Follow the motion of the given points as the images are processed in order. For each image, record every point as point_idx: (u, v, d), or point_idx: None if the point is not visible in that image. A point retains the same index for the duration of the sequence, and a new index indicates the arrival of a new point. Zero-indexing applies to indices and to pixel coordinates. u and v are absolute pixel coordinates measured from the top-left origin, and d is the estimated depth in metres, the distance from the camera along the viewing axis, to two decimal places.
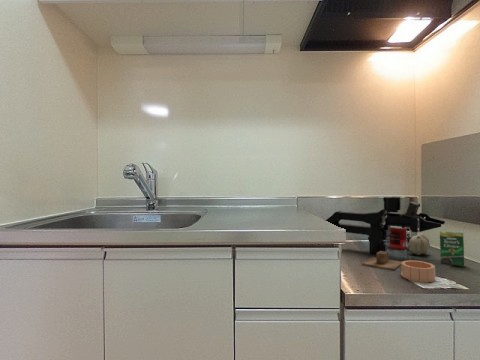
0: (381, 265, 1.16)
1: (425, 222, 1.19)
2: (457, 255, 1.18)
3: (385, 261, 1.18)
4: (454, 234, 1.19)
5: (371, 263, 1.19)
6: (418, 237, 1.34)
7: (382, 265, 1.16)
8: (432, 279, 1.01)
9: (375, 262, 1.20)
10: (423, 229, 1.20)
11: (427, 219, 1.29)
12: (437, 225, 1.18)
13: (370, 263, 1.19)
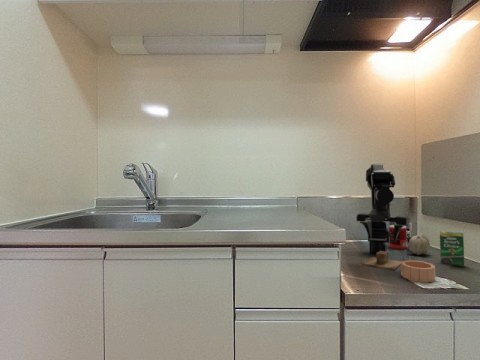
0: (381, 265, 1.16)
1: None
2: (457, 255, 1.18)
3: (385, 261, 1.18)
4: (454, 234, 1.19)
5: (371, 263, 1.19)
6: (418, 237, 1.34)
7: (382, 265, 1.16)
8: (432, 279, 1.01)
9: (375, 262, 1.20)
10: None
11: None
12: None
13: (370, 263, 1.19)
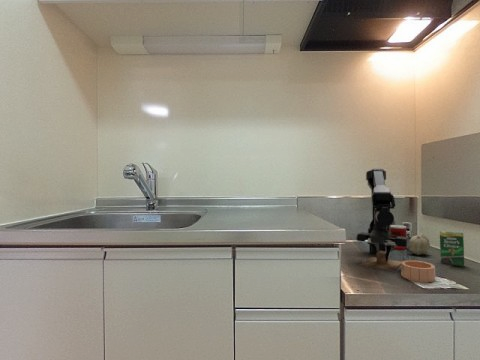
0: (381, 265, 1.16)
1: None
2: (457, 255, 1.18)
3: (385, 261, 1.18)
4: (454, 234, 1.19)
5: (371, 263, 1.19)
6: (418, 237, 1.34)
7: (382, 265, 1.16)
8: (432, 279, 1.01)
9: (375, 262, 1.20)
10: None
11: None
12: None
13: (370, 263, 1.19)
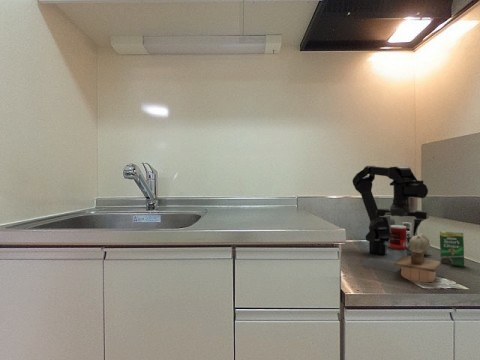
0: (418, 265, 1.01)
1: None
2: (457, 255, 1.18)
3: (421, 261, 1.03)
4: (454, 234, 1.19)
5: (405, 263, 1.04)
6: (418, 237, 1.34)
7: (419, 265, 1.01)
8: (432, 279, 1.01)
9: (409, 262, 1.05)
10: None
11: None
12: None
13: (404, 263, 1.04)
